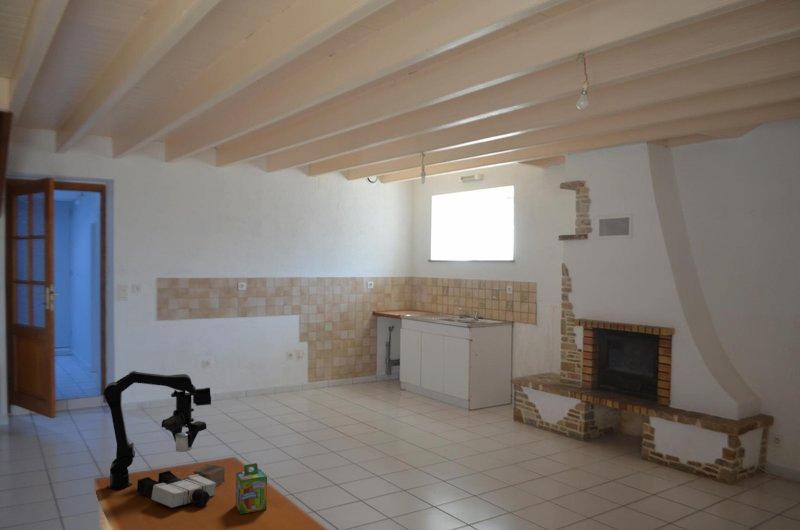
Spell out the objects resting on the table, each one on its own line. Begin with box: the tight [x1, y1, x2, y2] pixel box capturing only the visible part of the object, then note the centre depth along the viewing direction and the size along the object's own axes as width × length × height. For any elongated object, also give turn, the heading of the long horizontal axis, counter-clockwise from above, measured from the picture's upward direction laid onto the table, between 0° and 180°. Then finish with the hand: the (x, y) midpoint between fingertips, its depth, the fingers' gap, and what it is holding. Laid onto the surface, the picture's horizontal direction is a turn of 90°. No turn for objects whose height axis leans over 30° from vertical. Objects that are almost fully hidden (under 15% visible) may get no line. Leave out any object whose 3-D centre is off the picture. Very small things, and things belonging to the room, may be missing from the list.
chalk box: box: [235, 462, 268, 515], centre depth 202 cm, size 9×9×15 cm
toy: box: [136, 470, 217, 509], centre depth 210 cm, size 19×7×30 cm
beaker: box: [175, 431, 193, 453], centre depth 230 cm, size 6×6×6 cm
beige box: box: [193, 463, 226, 487], centre depth 224 cm, size 8×8×6 cm
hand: (183, 446), depth 230 cm, fingers closed on beaker, 6 cm apart
